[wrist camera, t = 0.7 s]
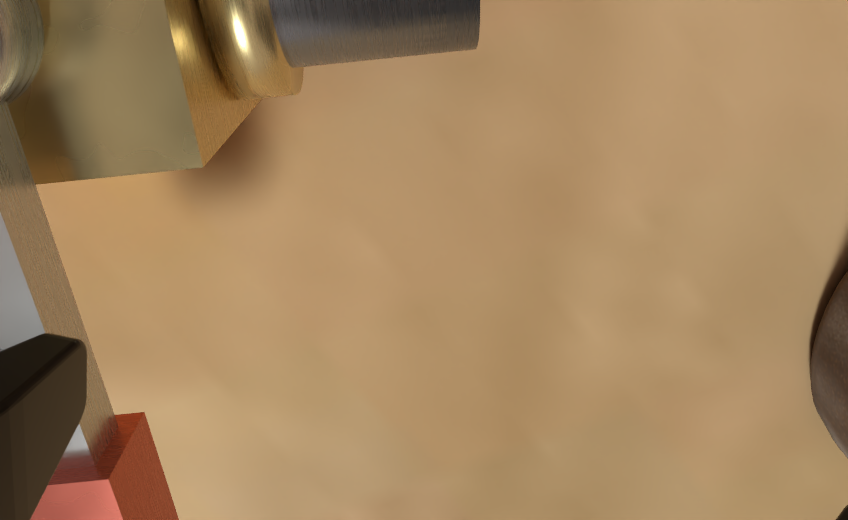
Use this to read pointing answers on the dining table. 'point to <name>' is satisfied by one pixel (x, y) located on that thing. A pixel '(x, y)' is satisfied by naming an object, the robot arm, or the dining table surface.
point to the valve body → (197, 72)
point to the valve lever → (62, 320)
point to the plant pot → (833, 366)
